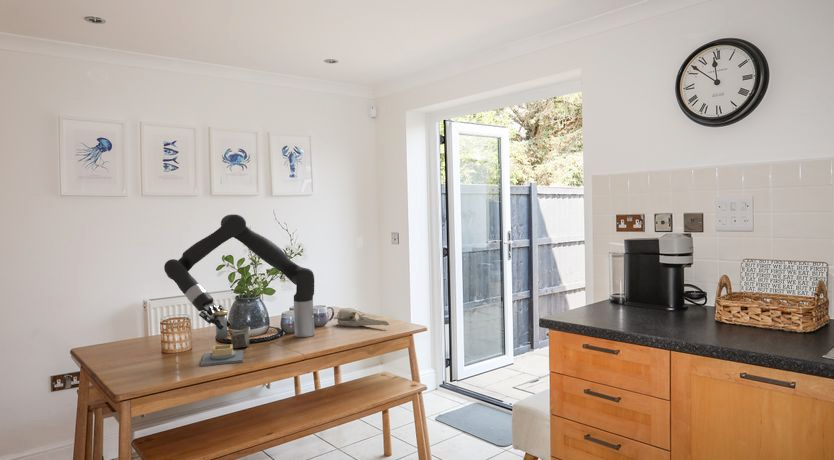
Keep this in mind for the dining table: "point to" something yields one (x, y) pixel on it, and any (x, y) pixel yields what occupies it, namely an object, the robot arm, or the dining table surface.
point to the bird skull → (348, 319)
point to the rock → (240, 338)
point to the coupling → (222, 318)
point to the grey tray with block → (222, 356)
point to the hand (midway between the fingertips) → (225, 326)
